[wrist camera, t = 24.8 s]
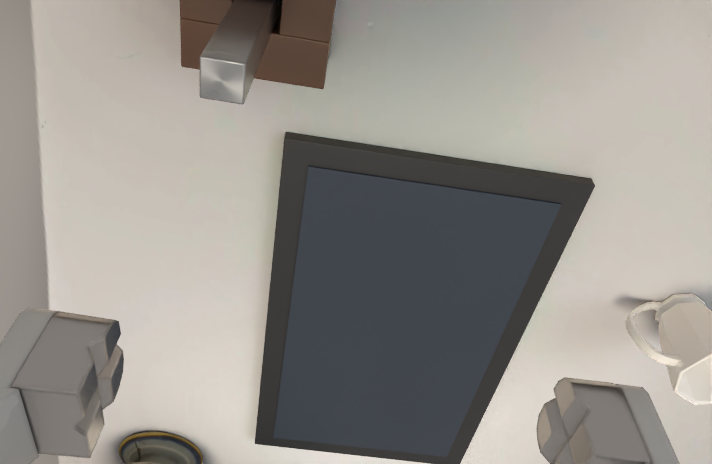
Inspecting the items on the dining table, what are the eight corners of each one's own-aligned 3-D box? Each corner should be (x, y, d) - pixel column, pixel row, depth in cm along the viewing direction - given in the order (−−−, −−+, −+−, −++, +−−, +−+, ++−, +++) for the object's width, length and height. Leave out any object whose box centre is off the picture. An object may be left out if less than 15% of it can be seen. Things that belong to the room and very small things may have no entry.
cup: (690, 341, 57) (730, 412, 51) (596, 321, 56) (624, 392, 50) (736, 290, 53) (785, 361, 47) (635, 267, 52) (672, 337, 45)
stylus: (254, -34, 37) (199, 55, 26) (285, -28, 38) (245, 63, 26) (252, -2, 39) (199, 98, 27) (283, 4, 39) (243, 105, 27)
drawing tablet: (286, 131, 44) (284, 139, 44) (591, 178, 46) (596, 187, 45) (256, 436, 69) (254, 445, 68) (457, 459, 71) (458, 468, 70)
